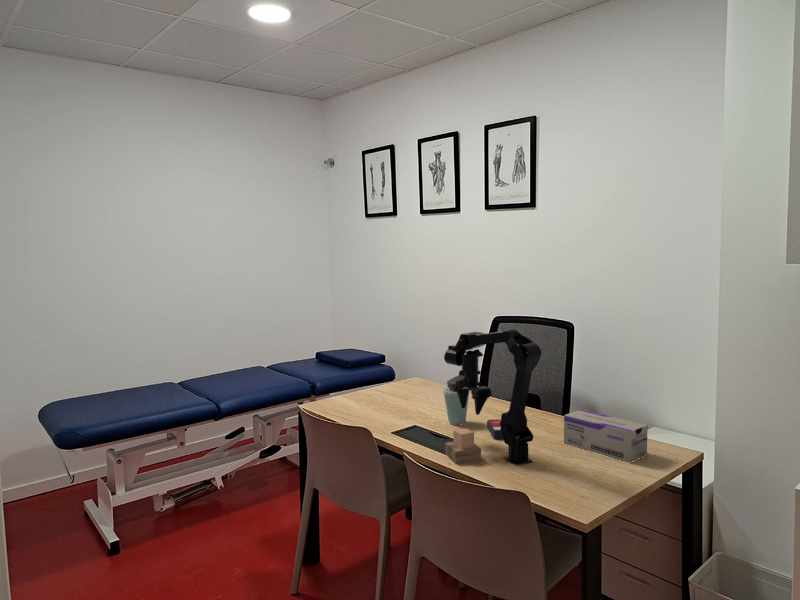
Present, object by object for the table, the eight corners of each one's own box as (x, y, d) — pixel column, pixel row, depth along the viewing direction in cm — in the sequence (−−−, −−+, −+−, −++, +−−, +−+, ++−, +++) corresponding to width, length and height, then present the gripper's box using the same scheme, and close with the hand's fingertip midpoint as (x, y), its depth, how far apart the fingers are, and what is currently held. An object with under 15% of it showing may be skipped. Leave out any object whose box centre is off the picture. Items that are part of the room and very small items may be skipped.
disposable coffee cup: (474, 421, 236) (474, 384, 235) (463, 428, 227) (463, 390, 226) (450, 417, 242) (450, 381, 240) (438, 424, 233) (438, 387, 231)
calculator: (514, 418, 229) (524, 428, 214) (514, 428, 229) (524, 439, 214) (486, 418, 228) (494, 428, 213) (486, 429, 229) (494, 440, 214)
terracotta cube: (474, 446, 195) (474, 432, 194) (461, 449, 192) (461, 434, 192) (466, 442, 199) (466, 428, 199) (453, 444, 197) (453, 430, 196)
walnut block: (480, 461, 193) (480, 448, 193) (455, 464, 191) (455, 451, 190) (469, 452, 202) (469, 439, 202) (445, 455, 199) (445, 442, 199)
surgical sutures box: (563, 444, 208) (564, 415, 207) (581, 438, 214) (582, 409, 213) (629, 464, 188) (630, 431, 187) (646, 456, 195) (647, 425, 194)
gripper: (436, 365, 211) (437, 408, 213) (464, 375, 195) (465, 421, 196) (463, 362, 216) (463, 404, 218) (492, 371, 200) (492, 416, 201)
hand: (470, 411), depth 208 cm, fingers open, 9 cm apart
